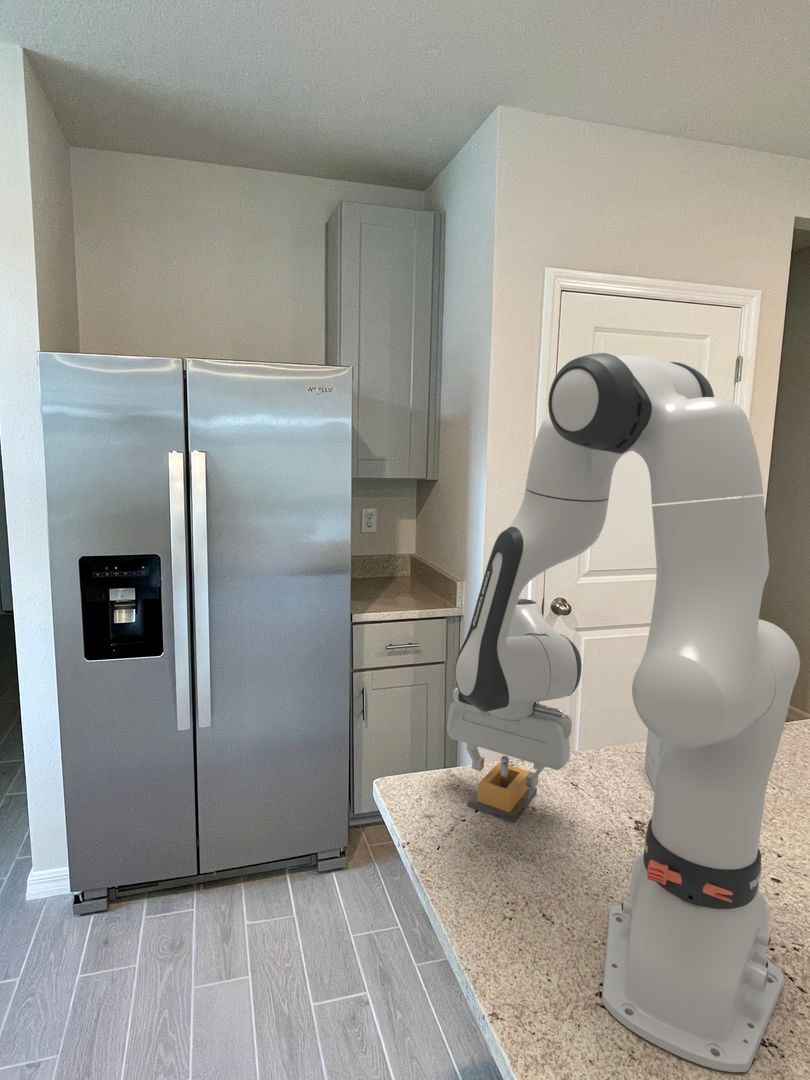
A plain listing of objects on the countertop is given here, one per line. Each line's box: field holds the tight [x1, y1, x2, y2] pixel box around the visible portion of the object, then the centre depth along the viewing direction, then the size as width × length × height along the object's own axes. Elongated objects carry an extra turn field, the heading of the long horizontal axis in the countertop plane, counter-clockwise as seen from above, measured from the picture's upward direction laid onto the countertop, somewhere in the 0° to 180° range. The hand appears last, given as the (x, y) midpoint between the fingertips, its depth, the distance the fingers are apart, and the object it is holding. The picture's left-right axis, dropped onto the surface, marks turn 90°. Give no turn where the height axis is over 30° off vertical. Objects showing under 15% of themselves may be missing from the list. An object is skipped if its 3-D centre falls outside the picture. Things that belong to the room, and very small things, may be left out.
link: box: [477, 761, 531, 812], centre depth 105 cm, size 9×6×3 cm, turn 149°
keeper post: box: [467, 755, 538, 823], centre depth 105 cm, size 10×8×8 cm
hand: (504, 776), depth 105 cm, fingers open, 8 cm apart
